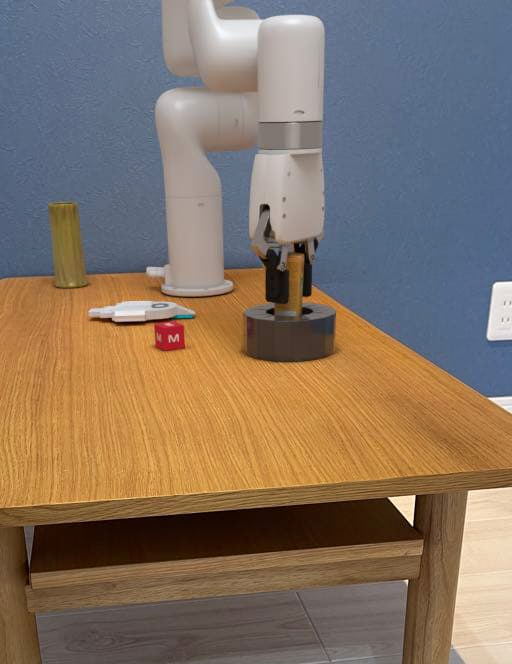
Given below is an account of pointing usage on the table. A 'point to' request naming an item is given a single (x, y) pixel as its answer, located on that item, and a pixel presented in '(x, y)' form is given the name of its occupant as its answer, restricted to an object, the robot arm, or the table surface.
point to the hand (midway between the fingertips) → (288, 297)
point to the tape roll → (289, 333)
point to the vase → (67, 245)
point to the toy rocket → (142, 311)
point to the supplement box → (293, 286)
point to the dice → (169, 335)
